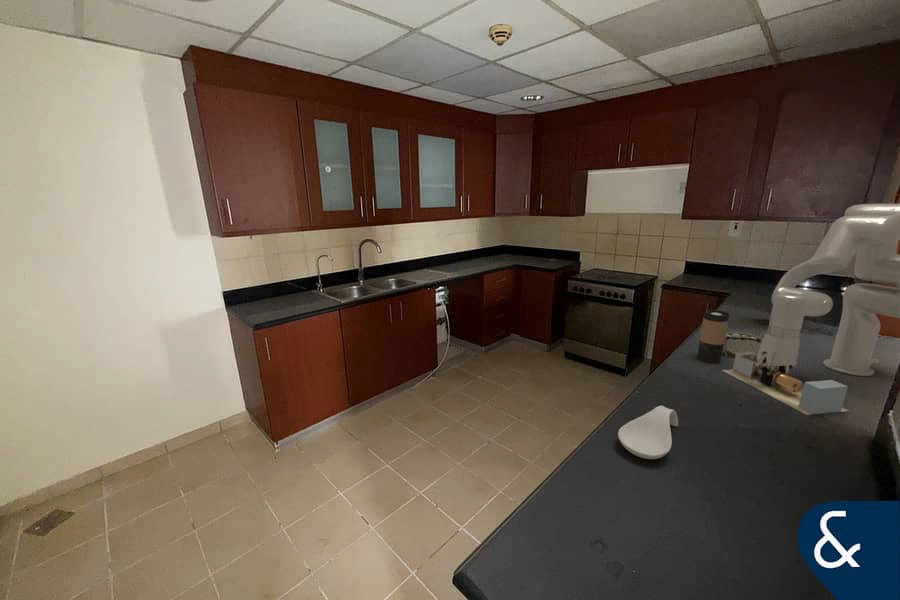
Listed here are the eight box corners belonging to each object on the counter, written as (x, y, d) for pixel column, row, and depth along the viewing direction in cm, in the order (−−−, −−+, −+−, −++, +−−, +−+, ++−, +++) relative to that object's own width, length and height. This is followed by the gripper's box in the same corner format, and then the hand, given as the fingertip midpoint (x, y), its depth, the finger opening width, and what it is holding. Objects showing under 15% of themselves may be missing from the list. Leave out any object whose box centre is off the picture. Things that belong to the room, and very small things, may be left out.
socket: (825, 404, 108) (832, 379, 106) (840, 411, 104) (847, 386, 102) (798, 406, 107) (804, 382, 105) (812, 414, 103) (819, 388, 101)
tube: (738, 368, 129) (740, 357, 128) (749, 367, 130) (751, 356, 128) (789, 393, 112) (792, 381, 111) (801, 392, 112) (804, 380, 111)
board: (756, 370, 133) (757, 367, 132) (849, 413, 105) (850, 410, 104) (721, 372, 131) (722, 370, 131) (805, 417, 103) (806, 414, 103)
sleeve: (749, 369, 131) (752, 351, 129) (767, 378, 124) (771, 359, 122) (732, 370, 130) (735, 352, 129) (750, 379, 124) (754, 360, 122)
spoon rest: (658, 474, 84) (662, 447, 82) (608, 450, 92) (611, 425, 90) (691, 431, 99) (695, 408, 97) (645, 414, 107) (648, 392, 105)
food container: (752, 356, 144) (756, 332, 142) (759, 362, 139) (764, 338, 136) (715, 353, 148) (719, 330, 146) (721, 358, 143) (725, 335, 140)
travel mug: (724, 366, 136) (733, 316, 131) (701, 365, 137) (710, 315, 132) (714, 358, 143) (722, 310, 138) (692, 357, 145) (700, 309, 139)
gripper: (795, 326, 119) (783, 376, 124) (748, 329, 118) (738, 380, 122) (819, 333, 112) (806, 387, 117) (771, 337, 110) (759, 391, 115)
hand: (772, 383), depth 119 cm, fingers closed on tube, 4 cm apart
